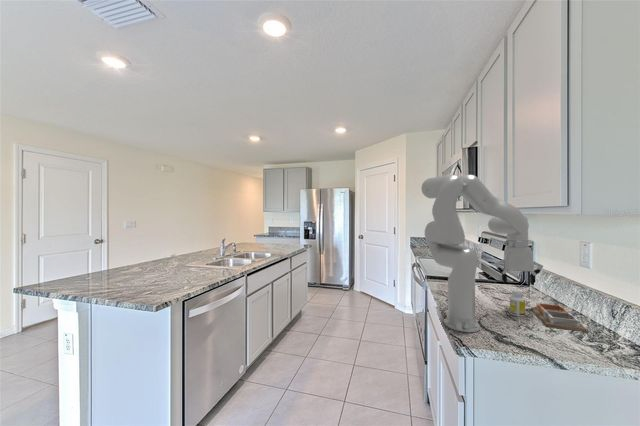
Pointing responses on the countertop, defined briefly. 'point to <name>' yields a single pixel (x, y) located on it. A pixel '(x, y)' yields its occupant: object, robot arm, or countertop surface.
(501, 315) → the countertop surface
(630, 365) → the countertop surface
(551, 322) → the board
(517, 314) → the supplement bottle
